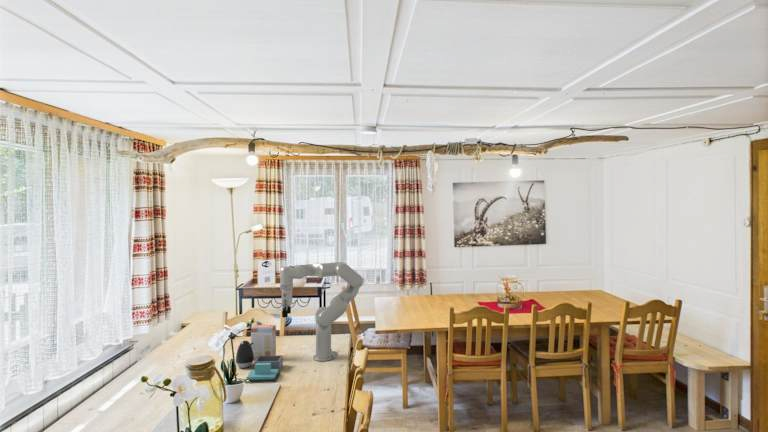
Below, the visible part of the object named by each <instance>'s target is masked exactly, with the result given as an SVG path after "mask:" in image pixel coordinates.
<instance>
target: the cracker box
mask: <svg viewBox="0 0 768 432" xmlns="http://www.w3.org/2000/svg"><path fill="white" fill-rule="evenodd" d="M276 329H277V325H276V324H254V325H252V326H251V327H250V343H252V342H253V344H252V345H251V347H252V350H253V354H254V360H253V362H255V360H256V359H257V358H258V356H276V355H277V336H276V335H277V330H276Z"/></svg>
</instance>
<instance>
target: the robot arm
mask: <svg viewBox="0 0 768 432" xmlns="http://www.w3.org/2000/svg"><path fill="white" fill-rule="evenodd" d="M279 273H280V275H279V280H280V281H279V282H280V283H279V284H280V285H279V286H280V287H279V288H280V289H279V290H280V291H281V307H282V309H281V310H282V311H281V313H282V314H281V317H282V318H288V314H291V313H292V312H291V311H292V308H291V306H292V305H293V290H294V279H296V280H302V279H303V278H304V277H311V276H312V277H318V278H328V277H337V276H338V277H340V278H341V279H342V280H343V281H345V282H346V283H347V284H346V286H345V288H344V289H342V291H340V292H339V293H338V294H337V295H336V296H333V298H332V299H331V300H330V302H329V306H321V307H319V308H318V309H317V310H316V312H315V317H314V318H315V354H314V355H313V360H314V361H317V362H327V361H328V362H329V361H331V360H333V359H334V358H335V357H334V356H339V351H336V350H334V351H333V348H332V324H333V323H335V321H337V320H338V319H339V318H340V317H341V316H343V315H344V314H345V313H346V312H347V310H348V304H350V302H351V301H352V300H354V299H355V298H356V297H357V295H358V293H359V290H360V288H361V287H362V286H363V284H364V278H363V277H362V275H360V274H359V272H356V271H355V269H353V268H352V267H350V266H349V265H348V263H346V262H342V261H335V262H326V263H313V264H312V263H310V264H298V265H296V266H294V267H292V266H283V267H281V268H280V271H279Z"/></svg>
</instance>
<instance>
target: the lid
mask: <svg viewBox="0 0 768 432" xmlns="http://www.w3.org/2000/svg"><path fill="white" fill-rule="evenodd" d="M278 371H279V369H271V363H256V364H255V370H254V369H252V370H250V371H249V373H248V374H247V376H246V378H245V381H246V380H272V379H275V377H276V375H277V373H279V372H280V371H279V372H278Z"/></svg>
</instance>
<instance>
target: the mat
mask: <svg viewBox="0 0 768 432" xmlns="http://www.w3.org/2000/svg"><path fill="white" fill-rule="evenodd" d="M280 374H281V371H279V372H278V373H277V375H276V377H275V379H272V380H249V381H250V382H252V383H251V384H256V383H257V384H261V383H262V384H265V383H276V382H277V380H278V378H279V376H280ZM245 384H248V383H247V382H246V383H245Z"/></svg>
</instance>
